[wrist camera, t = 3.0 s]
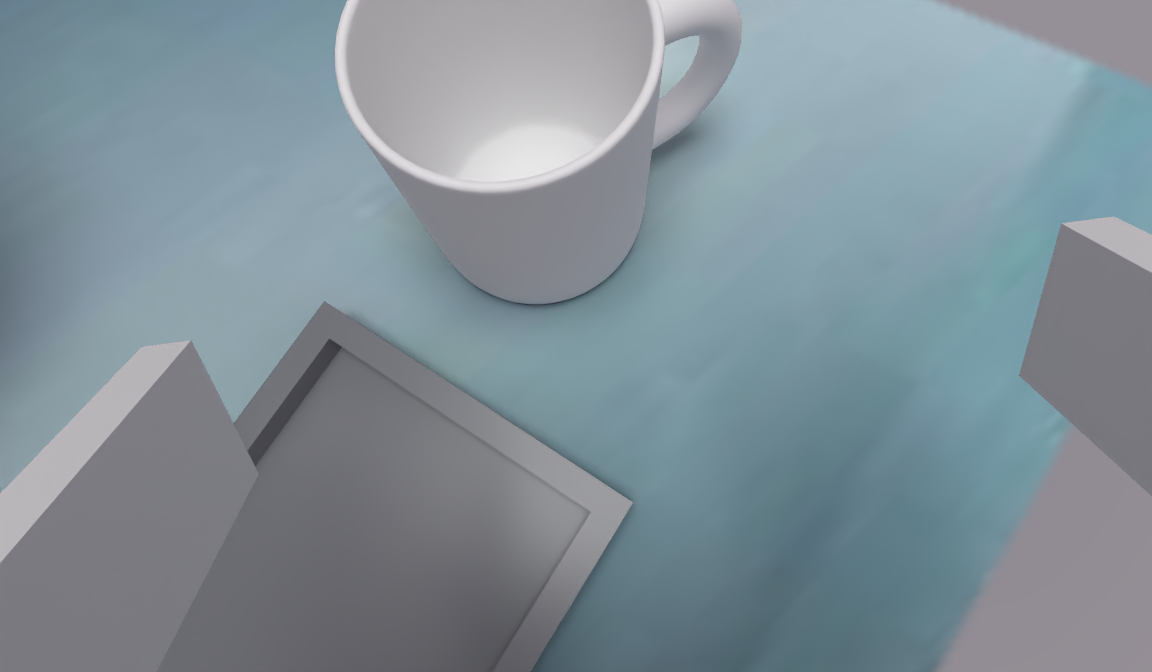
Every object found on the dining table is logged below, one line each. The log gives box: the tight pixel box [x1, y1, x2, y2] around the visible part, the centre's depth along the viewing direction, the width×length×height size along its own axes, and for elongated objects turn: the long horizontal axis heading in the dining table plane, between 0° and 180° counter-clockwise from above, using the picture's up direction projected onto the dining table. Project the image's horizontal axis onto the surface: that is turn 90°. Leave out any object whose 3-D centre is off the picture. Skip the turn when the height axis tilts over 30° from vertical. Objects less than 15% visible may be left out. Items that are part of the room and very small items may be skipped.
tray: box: [157, 301, 633, 672], centre depth 22 cm, size 13×17×2 cm
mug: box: [335, 0, 742, 304], centre depth 21 cm, size 12×8×10 cm
